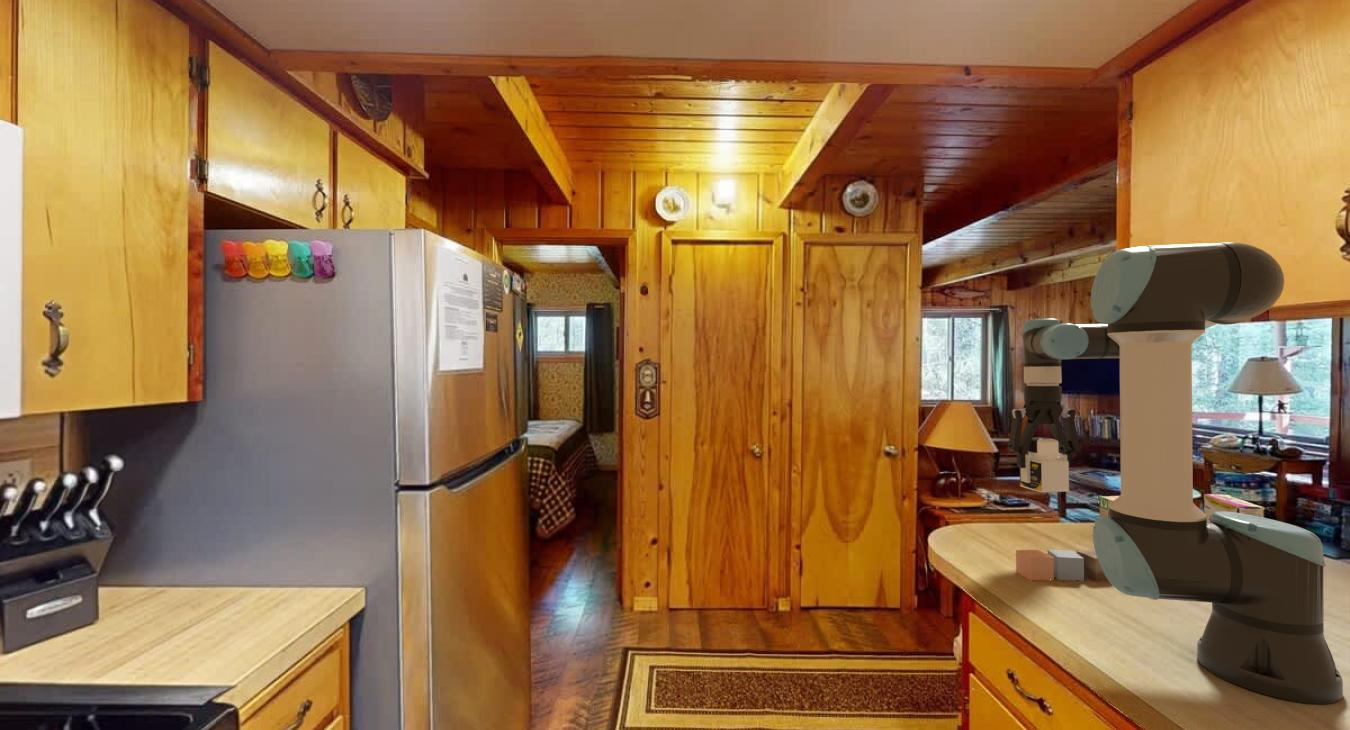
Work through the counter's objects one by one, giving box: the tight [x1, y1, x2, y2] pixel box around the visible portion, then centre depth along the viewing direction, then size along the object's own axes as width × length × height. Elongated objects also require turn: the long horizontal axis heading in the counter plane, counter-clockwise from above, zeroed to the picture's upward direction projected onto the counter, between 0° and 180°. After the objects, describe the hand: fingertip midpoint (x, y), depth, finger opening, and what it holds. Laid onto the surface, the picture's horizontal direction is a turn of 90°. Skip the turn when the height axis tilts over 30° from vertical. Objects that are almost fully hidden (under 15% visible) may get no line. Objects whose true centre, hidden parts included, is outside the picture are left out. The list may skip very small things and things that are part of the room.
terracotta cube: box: [1015, 549, 1055, 581], centre depth 126 cm, size 5×5×5 cm
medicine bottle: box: [1019, 437, 1070, 493], centre depth 136 cm, size 7×7×12 cm
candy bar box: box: [1203, 493, 1266, 523], centre depth 124 cm, size 11×5×16 cm, turn 167°
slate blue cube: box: [1047, 549, 1085, 582], centre depth 125 cm, size 5×5×5 cm
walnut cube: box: [1076, 549, 1108, 582], centre depth 125 cm, size 5×5×5 cm
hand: (1043, 481), depth 136 cm, fingers closed on medicine bottle, 8 cm apart
